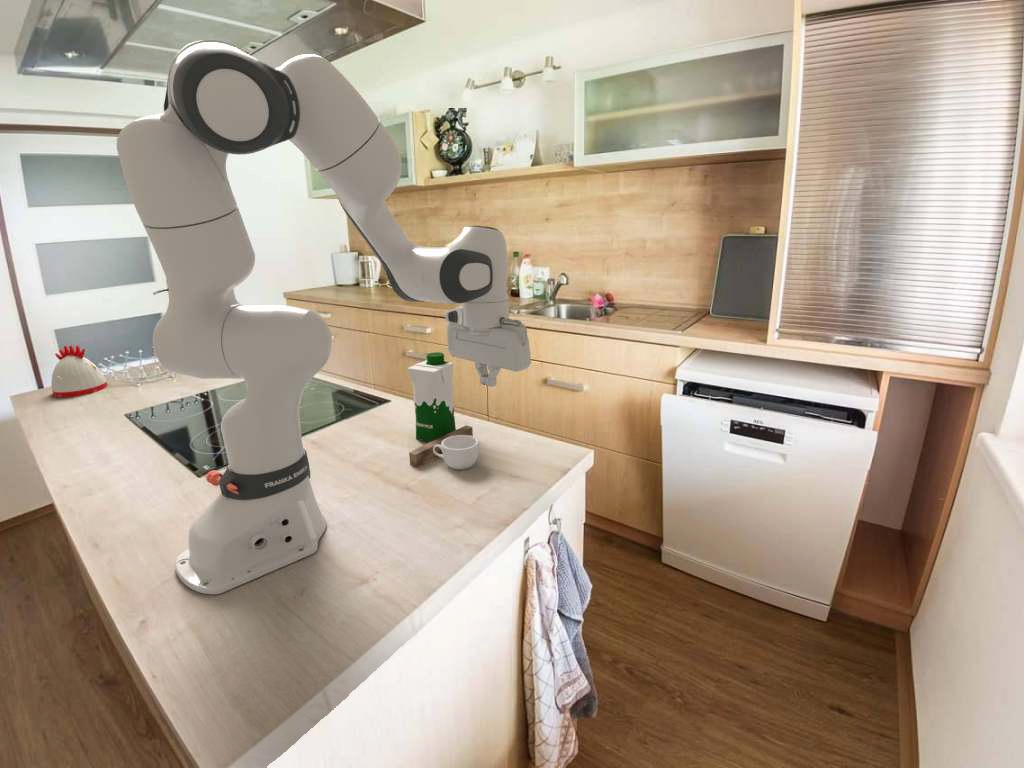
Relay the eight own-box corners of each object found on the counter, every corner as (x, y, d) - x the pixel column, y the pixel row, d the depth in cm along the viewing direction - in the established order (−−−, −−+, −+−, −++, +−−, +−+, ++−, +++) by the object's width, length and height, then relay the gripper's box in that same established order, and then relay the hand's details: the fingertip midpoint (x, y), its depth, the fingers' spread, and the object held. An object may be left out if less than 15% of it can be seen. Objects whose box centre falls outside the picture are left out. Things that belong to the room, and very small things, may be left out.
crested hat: (94, 394, 163) (80, 349, 159) (43, 399, 160) (28, 352, 156) (115, 381, 176) (103, 339, 171) (69, 385, 173) (55, 342, 169)
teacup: (483, 458, 113) (482, 435, 112) (474, 474, 106) (473, 450, 104) (439, 455, 115) (437, 433, 113) (428, 471, 108) (426, 448, 106)
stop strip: (416, 467, 110) (415, 454, 109) (410, 464, 111) (408, 452, 110) (473, 438, 123) (472, 427, 122) (466, 436, 124) (466, 425, 123)
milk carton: (461, 432, 127) (456, 353, 121) (440, 446, 119) (433, 363, 113) (432, 426, 131) (426, 350, 125) (409, 440, 123) (402, 359, 117)
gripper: (537, 318, 93) (538, 391, 97) (464, 308, 106) (467, 372, 110) (513, 323, 88) (515, 399, 92) (439, 312, 102) (443, 379, 106)
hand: (488, 384), depth 102 cm, fingers closed
